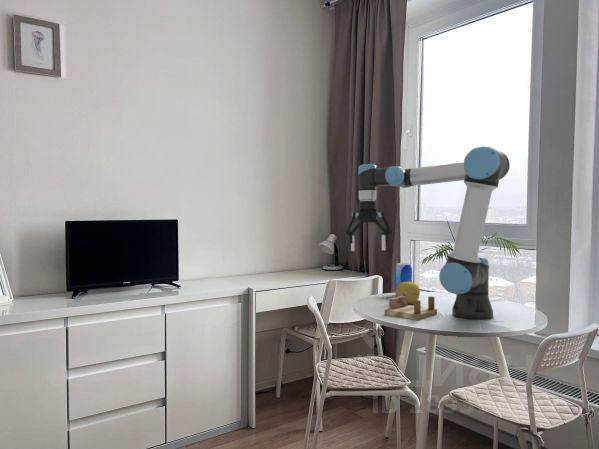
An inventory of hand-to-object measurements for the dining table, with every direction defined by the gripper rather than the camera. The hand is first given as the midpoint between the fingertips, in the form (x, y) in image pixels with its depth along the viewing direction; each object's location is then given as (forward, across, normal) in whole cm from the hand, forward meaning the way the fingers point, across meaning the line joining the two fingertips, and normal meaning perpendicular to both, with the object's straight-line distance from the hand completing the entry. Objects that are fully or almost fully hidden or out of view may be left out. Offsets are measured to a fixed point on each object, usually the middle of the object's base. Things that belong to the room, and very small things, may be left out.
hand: (368, 250), depth 197 cm
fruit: (+25, -21, -9) cm, 34 cm away
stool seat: (+25, -13, +14) cm, 32 cm away
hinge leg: (+22, -10, +9) cm, 26 cm away
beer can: (+25, -26, -29) cm, 46 cm away
